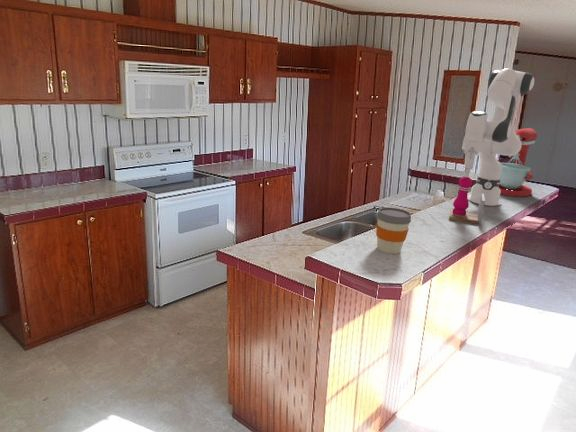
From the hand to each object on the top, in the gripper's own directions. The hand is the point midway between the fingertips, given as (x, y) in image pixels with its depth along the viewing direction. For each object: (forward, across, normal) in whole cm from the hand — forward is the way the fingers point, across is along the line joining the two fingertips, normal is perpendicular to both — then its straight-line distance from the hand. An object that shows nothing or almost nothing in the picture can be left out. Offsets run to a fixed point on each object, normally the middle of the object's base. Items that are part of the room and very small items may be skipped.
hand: (466, 175), depth 224 cm
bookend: (+21, 0, -3) cm, 21 cm away
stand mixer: (+22, +86, -30) cm, 94 cm away
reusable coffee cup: (+21, -65, +24) cm, 73 cm away
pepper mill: (+20, 0, 0) cm, 20 cm away
